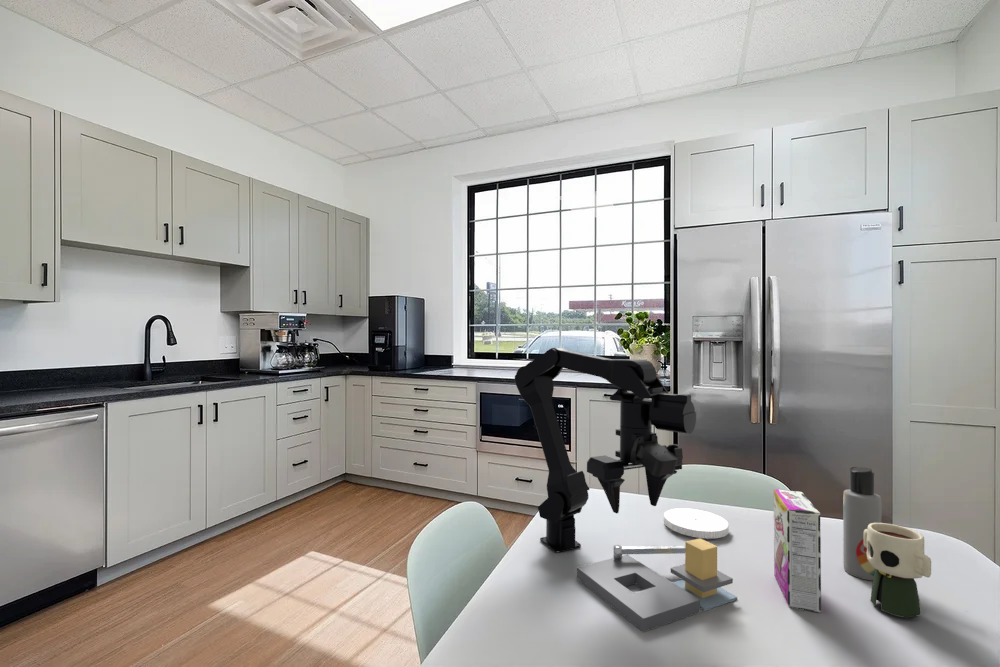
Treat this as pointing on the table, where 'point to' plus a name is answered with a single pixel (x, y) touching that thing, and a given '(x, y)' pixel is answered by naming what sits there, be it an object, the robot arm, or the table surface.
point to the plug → (701, 569)
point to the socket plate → (643, 607)
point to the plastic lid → (696, 523)
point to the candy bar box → (797, 550)
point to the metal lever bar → (646, 550)
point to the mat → (710, 597)
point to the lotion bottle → (859, 521)
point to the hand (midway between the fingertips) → (634, 509)
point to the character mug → (896, 567)
